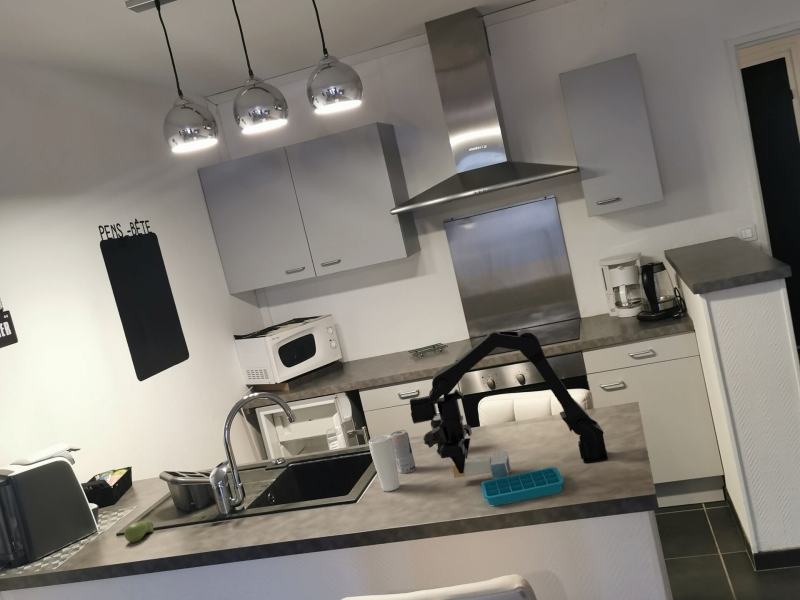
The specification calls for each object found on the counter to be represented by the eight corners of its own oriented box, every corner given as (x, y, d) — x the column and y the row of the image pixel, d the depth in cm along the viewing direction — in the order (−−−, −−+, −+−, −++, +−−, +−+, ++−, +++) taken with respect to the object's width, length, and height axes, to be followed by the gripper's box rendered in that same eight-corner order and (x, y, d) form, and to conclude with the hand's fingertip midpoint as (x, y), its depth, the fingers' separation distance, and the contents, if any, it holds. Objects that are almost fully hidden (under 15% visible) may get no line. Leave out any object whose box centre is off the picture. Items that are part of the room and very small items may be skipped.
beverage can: (450, 456, 219) (442, 419, 218) (433, 456, 224) (425, 420, 222) (461, 448, 225) (453, 412, 224) (444, 448, 229) (436, 413, 228)
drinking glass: (375, 493, 203) (363, 443, 201) (386, 483, 209) (375, 435, 207) (396, 493, 200) (384, 442, 198) (406, 483, 205) (395, 433, 204)
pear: (119, 527, 208) (141, 517, 217) (121, 545, 207) (143, 535, 217) (134, 525, 206) (156, 515, 215) (137, 543, 206) (159, 533, 215)
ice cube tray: (567, 493, 174) (564, 482, 174) (486, 510, 175) (484, 498, 175) (558, 476, 186) (555, 466, 185) (482, 492, 187) (480, 482, 186)
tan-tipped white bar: (493, 467, 195) (490, 455, 195) (492, 472, 192) (489, 460, 191) (456, 472, 198) (453, 460, 198) (454, 477, 194) (451, 465, 194)
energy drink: (416, 465, 219) (408, 428, 217) (415, 471, 213) (406, 434, 212) (399, 468, 219) (391, 432, 218) (398, 475, 214) (389, 437, 213)
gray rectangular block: (511, 469, 197) (507, 451, 196) (509, 482, 188) (504, 463, 188) (497, 471, 198) (493, 453, 197) (494, 484, 189) (490, 465, 189)
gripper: (428, 410, 205) (440, 461, 206) (415, 431, 187) (428, 487, 188) (465, 404, 202) (477, 456, 204) (456, 425, 184) (469, 482, 186)
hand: (462, 470), depth 195 cm, fingers closed on tan-tipped white bar, 4 cm apart
